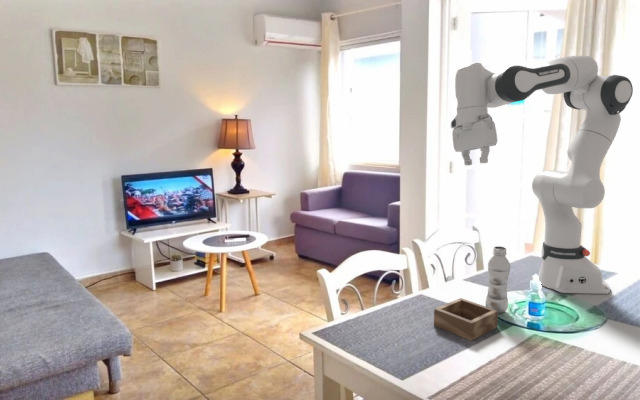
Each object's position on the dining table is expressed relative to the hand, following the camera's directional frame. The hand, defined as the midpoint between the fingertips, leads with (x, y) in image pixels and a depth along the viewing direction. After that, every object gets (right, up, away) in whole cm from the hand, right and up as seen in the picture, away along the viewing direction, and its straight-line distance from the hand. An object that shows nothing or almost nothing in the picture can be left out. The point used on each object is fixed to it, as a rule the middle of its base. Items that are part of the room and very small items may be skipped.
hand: (475, 164), depth 150 cm
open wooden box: (-6, -47, -9) cm, 48 cm away
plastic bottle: (+7, -45, +1) cm, 45 cm away
